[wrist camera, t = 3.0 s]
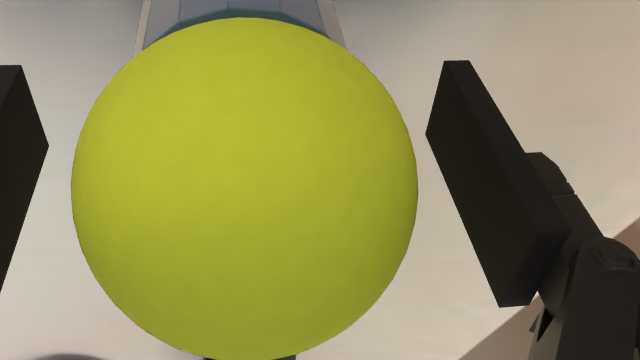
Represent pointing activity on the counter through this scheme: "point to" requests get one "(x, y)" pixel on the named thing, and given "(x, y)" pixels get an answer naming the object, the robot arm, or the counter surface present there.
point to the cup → (233, 16)
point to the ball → (244, 189)
